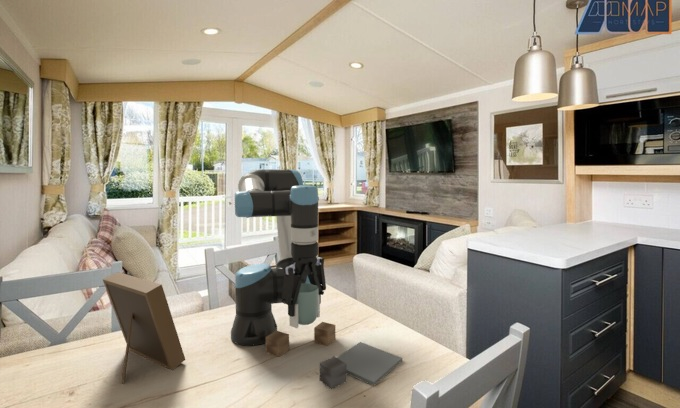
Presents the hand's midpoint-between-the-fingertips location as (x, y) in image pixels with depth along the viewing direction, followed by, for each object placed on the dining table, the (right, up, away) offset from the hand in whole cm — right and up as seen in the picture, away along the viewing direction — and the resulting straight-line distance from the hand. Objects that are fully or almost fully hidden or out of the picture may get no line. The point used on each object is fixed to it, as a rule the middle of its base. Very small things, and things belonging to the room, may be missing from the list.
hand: (305, 320), depth 98 cm
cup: (0, -1, 0) cm, 1 cm away
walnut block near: (-9, -12, +8) cm, 17 cm away
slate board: (+17, -13, +2) cm, 22 cm away
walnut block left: (+5, -12, +15) cm, 20 cm away
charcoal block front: (+8, -14, -7) cm, 17 cm away
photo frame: (-48, -13, +1) cm, 49 cm away
